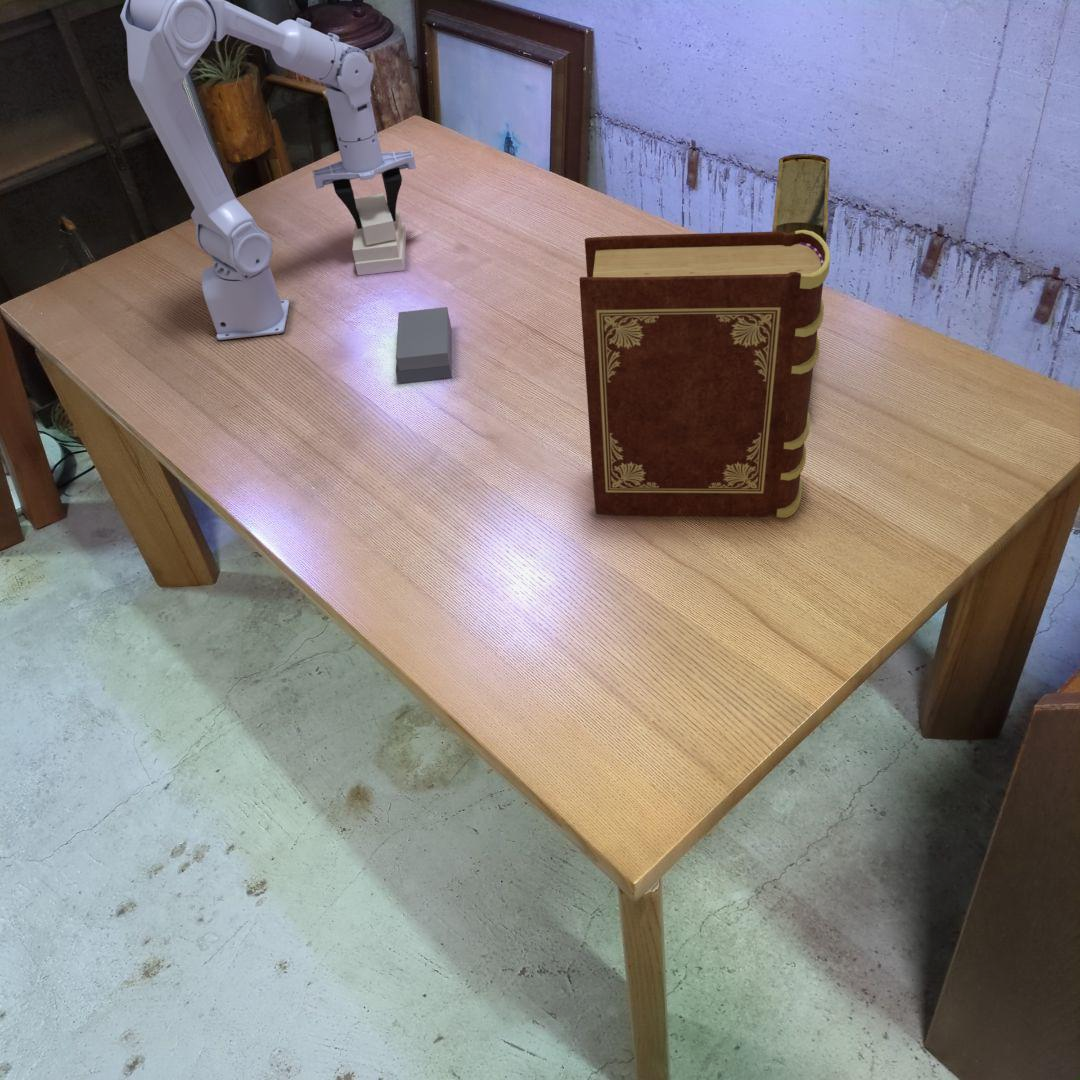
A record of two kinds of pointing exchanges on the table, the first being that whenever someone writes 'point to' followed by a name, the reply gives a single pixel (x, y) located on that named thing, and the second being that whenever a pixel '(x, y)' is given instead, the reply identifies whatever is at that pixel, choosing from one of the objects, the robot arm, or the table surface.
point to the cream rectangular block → (375, 219)
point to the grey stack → (424, 345)
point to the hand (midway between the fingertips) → (375, 222)
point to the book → (802, 194)
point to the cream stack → (380, 251)
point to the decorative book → (701, 370)
